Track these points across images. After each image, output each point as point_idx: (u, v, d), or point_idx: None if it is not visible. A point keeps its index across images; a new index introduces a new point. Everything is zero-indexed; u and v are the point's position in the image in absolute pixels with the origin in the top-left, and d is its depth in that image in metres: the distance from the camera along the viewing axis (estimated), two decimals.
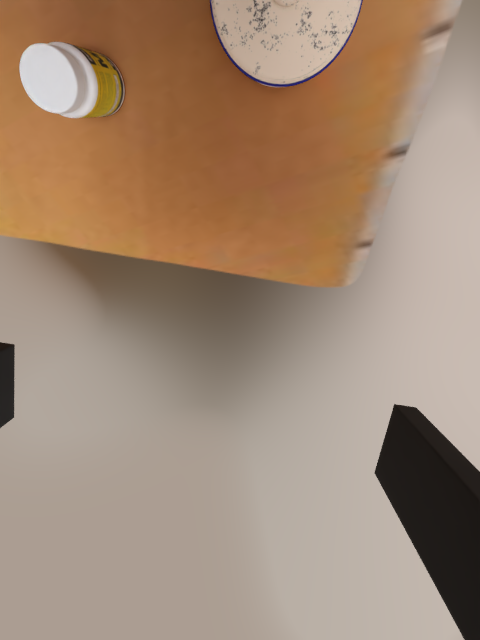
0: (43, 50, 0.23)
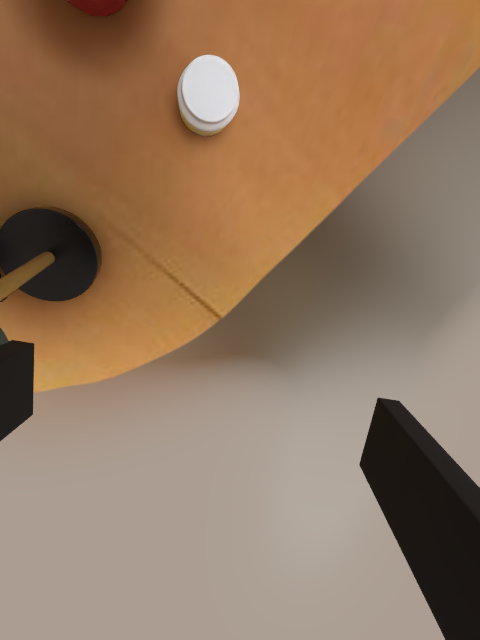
0: (192, 69, 0.23)
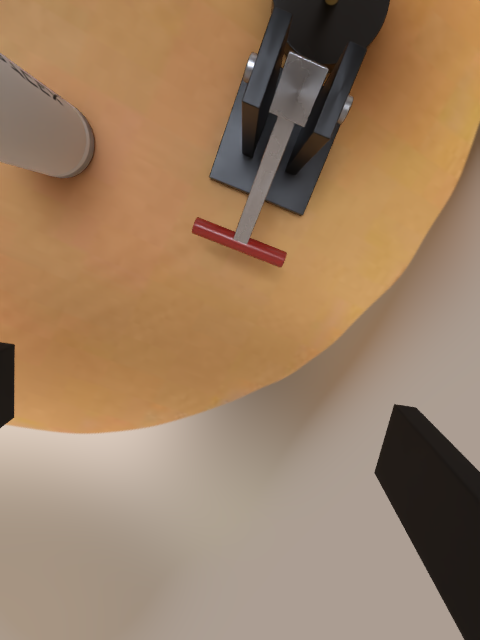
0: None
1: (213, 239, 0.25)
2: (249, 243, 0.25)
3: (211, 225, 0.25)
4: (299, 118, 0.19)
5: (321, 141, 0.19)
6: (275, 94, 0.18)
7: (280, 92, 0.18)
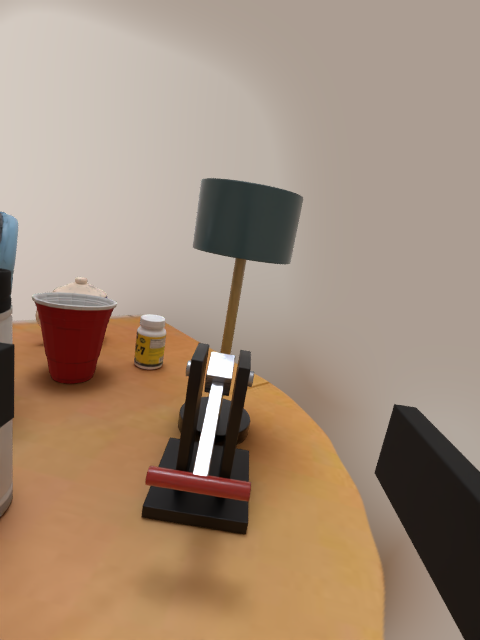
0: (144, 318, 0.56)
1: (171, 479, 0.23)
2: (210, 476, 0.24)
3: None
4: (226, 375, 0.30)
5: (245, 378, 0.29)
6: (208, 367, 0.30)
7: (211, 365, 0.30)
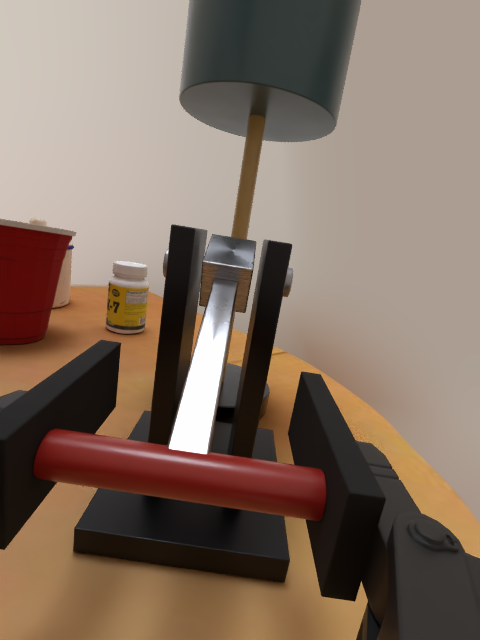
0: (118, 263, 0.41)
1: (105, 461, 0.08)
2: (214, 453, 0.09)
3: None
4: (243, 264, 0.15)
5: (281, 264, 0.14)
6: (207, 252, 0.15)
7: (212, 250, 0.16)
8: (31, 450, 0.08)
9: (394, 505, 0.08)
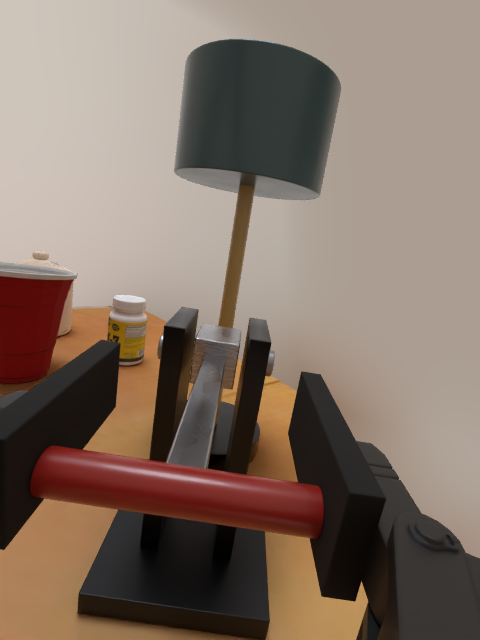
0: (118, 298, 0.43)
1: (106, 468, 0.08)
2: (211, 469, 0.09)
3: None
4: (230, 341, 0.17)
5: (262, 359, 0.16)
6: (199, 333, 0.18)
7: (203, 332, 0.18)
8: (31, 449, 0.08)
9: (394, 506, 0.08)
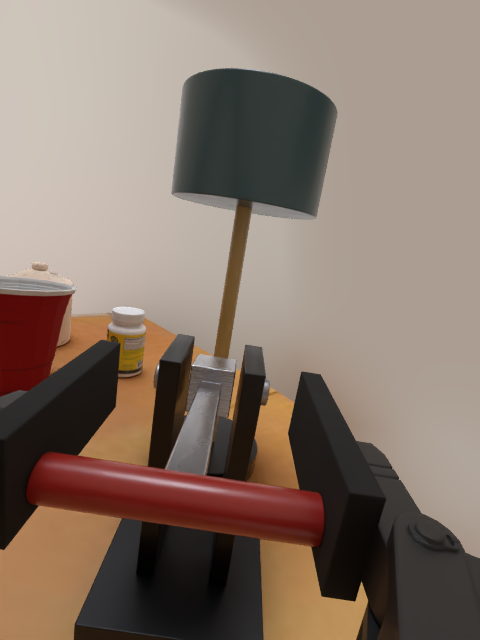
0: (117, 311, 0.43)
1: (104, 472, 0.08)
2: (210, 476, 0.09)
3: None
4: (226, 368, 0.17)
5: (256, 392, 0.16)
6: (195, 361, 0.18)
7: (199, 361, 0.18)
8: (30, 449, 0.08)
9: (394, 506, 0.08)
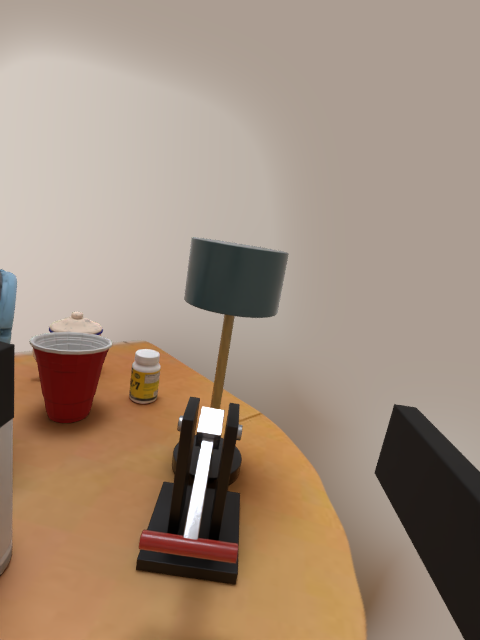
0: (139, 354, 0.58)
1: (162, 543, 0.24)
2: (199, 539, 0.25)
3: (159, 532, 0.25)
4: (216, 431, 0.31)
5: (233, 435, 0.31)
6: (199, 423, 0.32)
7: (201, 422, 0.32)
8: None
9: None
